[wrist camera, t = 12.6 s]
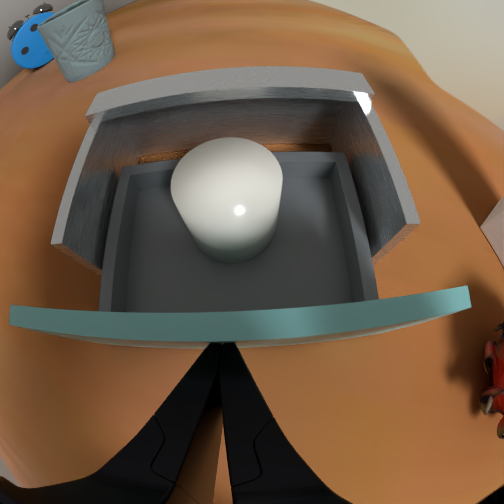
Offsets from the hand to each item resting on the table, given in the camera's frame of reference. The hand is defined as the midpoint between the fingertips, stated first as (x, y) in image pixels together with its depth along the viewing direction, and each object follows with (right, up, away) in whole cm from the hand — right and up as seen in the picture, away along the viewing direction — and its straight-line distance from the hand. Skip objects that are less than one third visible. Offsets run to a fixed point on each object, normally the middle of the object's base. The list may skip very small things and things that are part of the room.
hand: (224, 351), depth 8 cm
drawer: (0, +4, +9) cm, 10 cm away
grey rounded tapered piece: (0, +5, +8) cm, 9 cm away
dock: (0, +7, +10) cm, 12 cm away
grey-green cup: (-24, +32, +20) cm, 45 cm away
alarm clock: (-43, +45, +26) cm, 67 cm away
